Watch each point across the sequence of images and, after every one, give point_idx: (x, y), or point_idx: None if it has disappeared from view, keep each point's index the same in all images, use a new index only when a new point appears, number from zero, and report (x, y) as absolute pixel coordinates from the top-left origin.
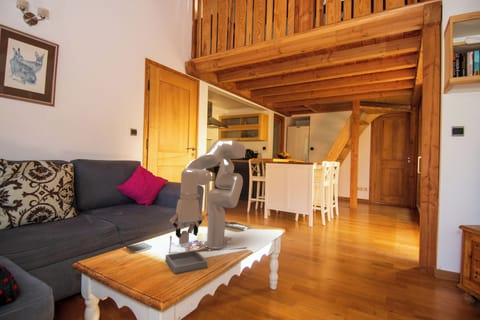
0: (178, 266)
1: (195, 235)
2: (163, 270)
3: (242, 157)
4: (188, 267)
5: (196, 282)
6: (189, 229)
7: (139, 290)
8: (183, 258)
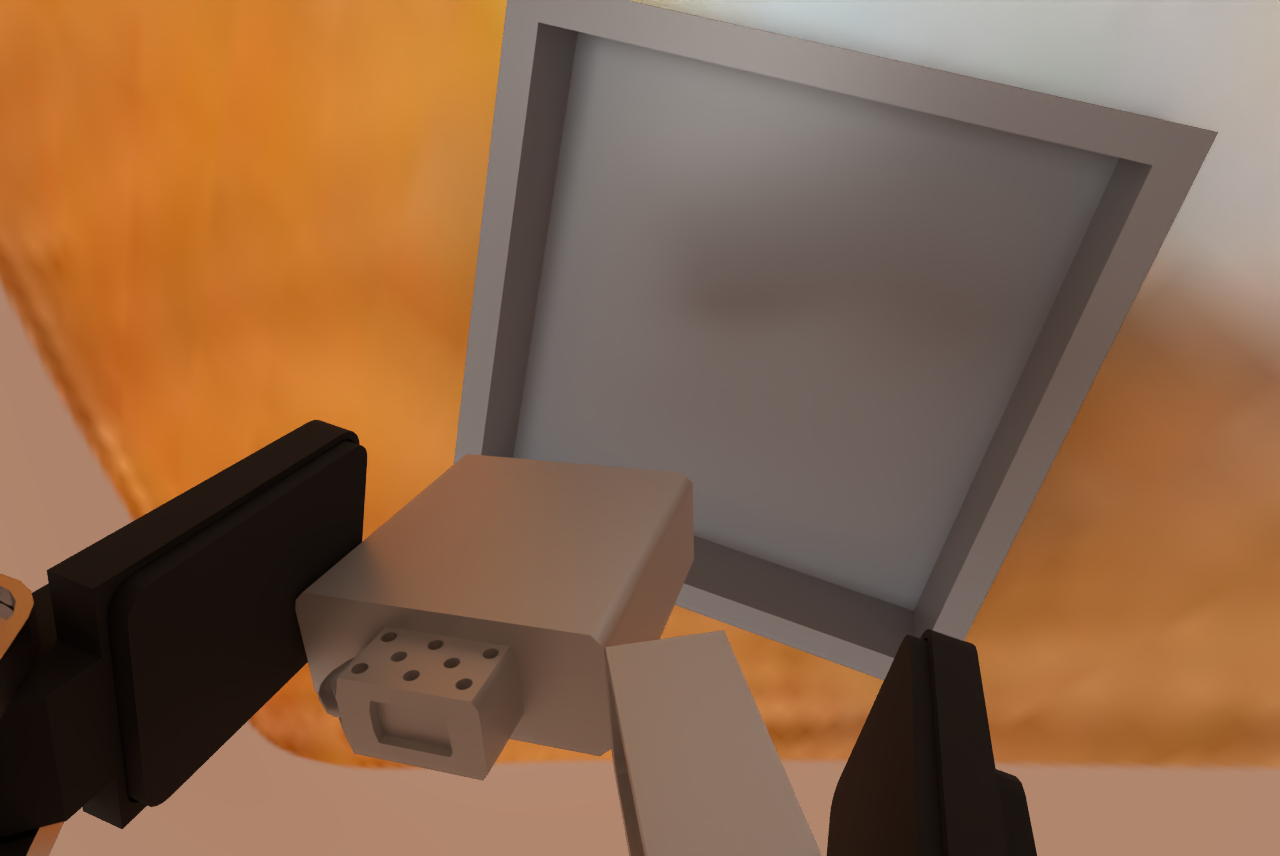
0: None
1: (834, 796)
2: (423, 289)
3: None
4: None
5: None
6: (683, 731)
7: (141, 500)
8: (856, 128)
